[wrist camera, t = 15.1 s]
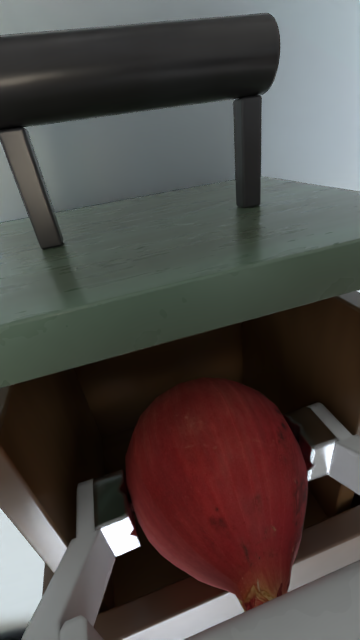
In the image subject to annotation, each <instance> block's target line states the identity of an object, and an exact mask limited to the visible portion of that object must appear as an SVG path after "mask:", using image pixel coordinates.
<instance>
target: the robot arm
mask: <svg viewBox="0 0 360 640" xmlns="http://www.w3.org/2000/svg"><path fill="white" fill-rule="evenodd" d="M282 415H283V417H284V418H285V420H286V422H287V423H288V425H289V427H290V429H291V431H292V433H293V435H294V436H295V438H296V440H297V442H298V444H299V446H300V449H301V452H302V455H303V458H304V461H305V464H306V469H307V479H308V481H311V480H314V479H317V478H320V477H323V476H325V475H328V474H329V476H330V477H332V478H333V479H335V480H337V481H338V482H340V483H341V484H343V485H344V486H346V487H347V488H349V489H351V490H352V491H354V492H355V493H357V494H358V495H360V436H359V435H357V434H356V435H352V434H351V433H350V432H349V431H348V430H347V429H346V428H345V427H344V426H343V425H342V424H341V423H340V422H339V421H338V420H337V419H336V418H335V417H334V416H333V414H332V413H331V412H330V411H329V410H328V409H327V408H326V407H325V406H324V405H323V404H321V403H320V402H318V403H314V404H311V405H309V406H305V407H302V408H299V409H296V410H293V411H291V412H288V413H285V414H282ZM134 513H135V511H134V508H133V505H132V502H131V498H130V495H129V491H128V487H127V483H126V474H125V471H124V469H121V470H118V471H115V472H112V473H109V474H106V475H103V476H100V477H97V478H93V479H90V480H87V481H84V482H81V483H78V486H77V495H76V538H74V539H72V540H71V541H70V543H69V545H68V547H67V549H66V551H65V553H64V555H63V557H62V559H61V561H60V563H59V565H58V567H57V569H56V571H55V573H54V575H53V577H52V579H51V581H50V583H49V585H48V587H47V589H46V591H45V593H44V595H43V597H42V599H41V601H40V603H39V605H38V607H37V609H36V611H35V612H34V614H33V616H32V618H31V620H30V622H29V624H28V626H27V628H26V630H25V632H24V634H23V636H22V640H104V639H103V638H102V637H101V636H100V635H99V633H98V632H97V631H96V630H95V629H94V624H95V621H96V618H97V615H98V611H99V608H100V605H101V602H102V599H103V596H104V593H105V590H106V587H107V584H108V581H109V578H110V575H111V572H112V568H113V565H114V562H115V557H117V556H119V555H122V554H124V553H127V552H129V551H131V550H134V549H136V548H138V547H141V544H140V537H139V530H138V524H137V522H136V519H135V516H134ZM184 640H360V560H358V561H356V562H353V563H351V564H349V565H347V566H345V567H342V568H340V569H338V570H336V571H334V572H331V573H329V574H327V575H325V576H323V577H320V578H318V579H316V580H314V581H312V582H309V583H307V584H305V585H303V586H301V587H298V588H296V589H294V590H292V591H290V592H287V593H285V594H283V595H281V596H279V597H276V598H274V599H272V600H270V601H268V602H265V603H263V604H261V605H259V606H257V607H254V608H252V609H250V610H248V611H246V612H243V613H241V614H239V615H237V616H235V617H232V618H230V619H228V620H226V621H224V622H221V623H219V624H217V625H215V626H212V627H210V628H208V629H206V630H204V631H201V632H199V633H197V634H195V635H193V636H190V637H188V638H186V639H184Z"/></svg>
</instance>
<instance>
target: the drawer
mask: <svg viewBox="0 0 360 640" xmlns="http://www.w3.org/2000/svg"><path fill="white" fill-rule="evenodd" d="M279 57H280V34H279V29H278V25H277V22H276V20H275V18H274V17H273V16H272V15H270V14H269V13H260V14H248V15H236V16H224V17H212V18H200V19H188V20H176V21H164V22H152V23H140V24H128V25H116V26H104V27H92V28H80V29H68V30H56V31H44V32H32V33H20V34H8V35H0V142H1V144H2V147H3V150H4V152H5V155H6V158H7V160H8V163H9V166H10V168H11V171H12V174H13V176H14V179H15V182H16V184H17V187H18V190H19V192H20V195H21V198H22V200H23V203H24V206H25V208H26V211H27V214H28V216H29V218H24V219H18V220H13V221H7V222H2V223H0V508H1V509H2V510H3V512H4V513H5V514H6V515H7V517H8V518H9V519H10V520H11V521H12V523H13V524H14V525H15V526H16V528H17V529H18V530H19V531H20V532H21V534H22V535H23V536H24V537H25V539H26V540H27V541H28V542H29V543H30V545H31V546H32V547H33V548H34V550H35V551H36V552H37V553H38V554H39V556H40V557H41V558H42V559H43V561H44V562H45V563H46V564H47V565H48V567H49V568H50V569H51V570H52V572H53V573H55V571H56V569H57V567H58V565H59V563H60V561H61V559H62V557H63V555H64V553H65V551H66V549H67V547H68V545H69V543H70V541H71V540H72V539H74V538H76V495H77V486H78V483H81V482H84V481H87V480H90V479H93V478H97V477H100V476H103V475H106V474H109V473H112V472H115V471H118V470H121V469H124V471H125V474H126V464H125V456H126V453H127V450H128V447H129V443H130V440H131V437H132V434H133V431H134V429H135V426H136V424H137V422H138V419H139V417H140V415H141V414H142V413H143V412H144V411H145V410H146V409H147V407H148V406H149V405H150V404H151V403H152V402H153V401H154V399H155V398H156V397H158V396H159V395H161V394H162V393H164V392H166V391H167V390H169V389H171V388H172V387H174V386H176V385H177V384H179V383H183V382H186V381H190V380H194V379H198V378H202V377H205V378H224V379H228V380H232V381H235V382H239V383H241V384H243V385H246V386H248V387H250V388H252V389H254V390H257V391H259V392H261V393H262V394H263V395H265V396H266V397H267V398H268V399H269V400H270V401H272V402H273V403H274V404H275V405H276V406H277V407H278V409H279V410H280V412H281V414H285V413H288V412H291V411H293V410H296V409H299V408H302V407H305V406H309V405H311V404H314V403H318V402H320V403H321V404H323V405H324V406H325V407H326V408H327V409H328V410H329V411H330V412H331V413H332V414H333V416H334V417H335V418H336V419H337V420H338V421H339V422H340V423H341V424H342V425H343V426H344V427H345V428H346V429H347V430H348V431H349V432H350V433H351V434H352V435H356V434H357V435H359V436H360V293H359V292H357V290H360V191H353V190H347V189H340V188H334V187H328V186H321V185H315V184H308V183H302V182H296V181H289V180H283V179H276V178H270V177H264V176H261V103H262V98H261V96H260V95H263V94H264V93H266V92H267V91H268V90H269V89H270V87H271V85H272V84H273V81H274V79H275V76H276V73H277V69H278V64H279ZM238 98H239V99H238ZM230 99H235V100H234V101H233V116H234V149H235V180H230V181H224V182H219V183H213V184H208V185H202V186H197V187H192V188H186V189H181V190H175V191H170V192H165V193H159V194H154V195H148V196H143V197H137V198H132V199H127V200H121V201H116V202H110V203H105V204H100V205H94V206H89V207H83V208H78V209H72V210H67V211H62V212H56V213H55V212H54V209H53V206H52V203H51V200H50V197H49V194H48V191H47V188H46V185H45V182H44V178H43V175H42V172H41V169H40V166H39V163H38V160H37V157H36V154H35V151H34V148H33V145H32V142H31V139H30V136H29V133H28V131H27V129H25V128H23V127H30V126H37V125H45V124H52V123H60V122H67V121H75V120H82V119H89V118H97V117H104V116H112V115H119V114H126V113H134V112H141V111H149V110H156V109H163V108H171V107H178V106H186V105H193V104H201V103H208V102H215V101H223V100H230ZM354 493H355V492H354V491H352V490H351V489H349V488H347V487H346V486H344V485H343V484H341V483H340V482H338V481H337V480H335V479H333V478H332V477H330V476H329V474H328V475H325V476H323V477H320V478H317V479H314V480H311V481H308V494H307V506H306V512H305V518H304V525H303V528H305V527H308V526H310V525H312V524H315V523H317V522H320V521H322V520H324V519H327V518H329V517H332V516H334V515H336V514H339V513H341V512H343V511H346V510H348V509H350V506H351V503H352V500H353V496H354ZM134 516H135V519H136V522H137V524H138V530H139V537H140V544H141V547H138V548H136V549H134V550H131V551H129V552H127V553H124V554H122V555H119V556H117V557H115V562H114V565H113V568H112V572H111V575H110V578H109V581H108V584H107V587H106V590H105V593H104V596H103V599H102V602H101V605H100V608H99V611H98V614H99V613H101V612H104V611H106V610H109V609H111V608H113V607H116V606H118V605H121V604H123V603H125V602H128V601H130V600H133V599H135V598H137V597H140V596H142V595H145V594H147V593H149V592H152V591H154V590H157V589H159V588H161V587H164V586H166V585H169V584H171V583H173V582H176V581H178V580H181V579H183V578H185V577H188V576H190V575H189V574H188V573H186V572H185V571H183V570H181V569H180V568H178V567H176V566H175V565H173V564H172V563H171V562H170V561H168V560H167V559H166V558H164V557H163V556H162V555H161V554H160V553H159V552H158V551H157V550H156V548H155V547H154V546H153V545H152V544H151V543H150V542H149V540H148V539H147V537H146V535H145V533H144V531H143V530H142V528H141V526H140V524H139V522H138V519H137V517H136V514H135V513H134Z"/></svg>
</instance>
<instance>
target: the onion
mask: <svg viewBox="0 0 360 640" xmlns="http://www.w3.org/2000/svg"><path fill="white" fill-rule="evenodd" d="M125 464H126V483H127V487H128V491H129V495H130V498H131V502H132V505H133V508H134V511H135V514H136V517H137V519H138V522H139V524H140V526H141V528H142V530H143V531H144V533H145V535H146V537H147V539H148V540H149V542H150V543H151V544H152V545H153V546H154V547H155V548H156V550H157V551H158V552H159V553H160V554H161V555H162V556H163V557H164V558H166V559H167V560H168V561H170V562H171V563H172V564H173V565H175V566H176V567H178V568H180V569H181V570H183V571H185V572H186V573H188V574H189V575H191V576H192V577H194V578H195V579H197V580H198V581H201V582H203V583H205V584H208V585H210V586H213V587H216V588H219V589H223V590H226V591H228V592H230V593H233V594H235V595H236V597H237V598H238V600H239V602H240V604H241V606H242V608H243V610H244V612H246V611H248V610H250V609H252V608H254V607H257V606H259V605H261V604H263V603H265V602H268V601H270V600H272V599H274V598H276V597H279V596H281V595H283V594H285V593H287V592H288V588H289V584H290V578H291V570H292V566H293V563H294V561H295V558H296V555H297V553H298V549H299V545H300V541H301V537H302V531H303V525H304V518H305V512H306V506H307V494H308V479H307V469H306V464H305V461H304V458H303V455H302V452H301V449H300V446H299V444H298V442H297V440H296V438H295V436H294V435H293V433H292V431H291V429H290V427H289V425H288V423H287V422H286V420H285V418H284V417H283V415H282V414H281V412H280V410H279V409H278V407H277V406H276V405H275V404H274V403H273V402H272V401H270V400H269V399H268V398H267V397H266V396H265V395H263V394H262V393H261V392H259V391H257V390H254V389H252V388H250V387H248V386H246V385H243V384H241V383H239V382H235V381H232V380H228V379H224V378H205V377H202V378H198V379H194V380H190V381H186V382H183V383H179V384H177V385H176V386H174V387H172V388H171V389H169V390H167V391H166V392H164V393H162V394H161V395H159V396H158V397H156V398H155V399H154V401H153V402H152V403H151V404H150V405H149V406H148V407H147V409H146V410H145V411H144V412H143V413H142V414H141V415H140V417H139V419H138V422H137V424H136V426H135V429H134V431H133V434H132V437H131V440H130V443H129V447H128V450H127V453H126V456H125Z"/></svg>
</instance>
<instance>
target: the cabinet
mask: <svg viewBox="0 0 360 640" xmlns="http://www.w3.org/2000/svg"><path fill="white" fill-rule="evenodd" d="M358 560H360V495H358V494H357V493H354V496H353V500H352V503H351V506H350V509H348V510H346V511H343V512H341V513H339V514H336V515H334V516H332V517H329V518H327V519H324V520H322V521H320V522H317V523H315V524H312V525H310V526H308V527H305V528H303V531H302V537H301V541H300V545H299V549H298V553H297V555H296V558H295V561H294V563H293V566H292V570H291V578H290V584H289V588H288V592H290V591H292V590H294V589H296V588H298V587H301V586H303V585H305V584H307V583H309V582H312V581H314V580H316V579H318V578H320V577H323V576H325V575H327V574H329V573H331V572H334V571H336V570H338V569H340V568H342V567H345V566H347V565H349V564H351V563H353V562H356V561H358ZM53 575H54V573H53V572H52V570H51V569H50V568H49V567H48V565H47V564H46V563H45V568H44V581H43V593H42V597H43V595H44V593H45V591H46V589H47V587H48V585H49V583H50V581H51V579H52V577H53ZM243 612H244V610H243V608H242V606H241V604H240V602H239V600H238V598H237V597H236V595H235V594H233V593H230V592H228V591H226V590H223V589H219V588H216V587H213V586H210V585H208V584H205V583H203V582H201V581H198V580H197V579H195V578H194V577H192V576H191V575H190V576H188V577H185V578H183V579H181V580H178V581H176V582H173V583H171V584H169V585H166V586H164V587H161V588H159V589H157V590H154V591H152V592H149V593H147V594H145V595H142V596H140V597H137V598H135V599H133V600H130V601H128V602H125V603H123V604H121V605H118V606H116V607H113V608H111V609H109V610H106V611H104V612H101V613H99V614H98V615H97V618H96V621H95V624H94V629H95V630H96V631H97V632H98V633H99V635H100V636H101V637H102V638H103V639H104V640H184V639H186V638H188V637H190V636H193V635H195V634H197V633H199V632H201V631H204V630H206V629H208V628H210V627H212V626H215V625H217V624H219V623H221V622H224V621H226V620H228V619H230V618H232V617H235V616H237V615H239V614H241V613H243Z"/></svg>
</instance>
